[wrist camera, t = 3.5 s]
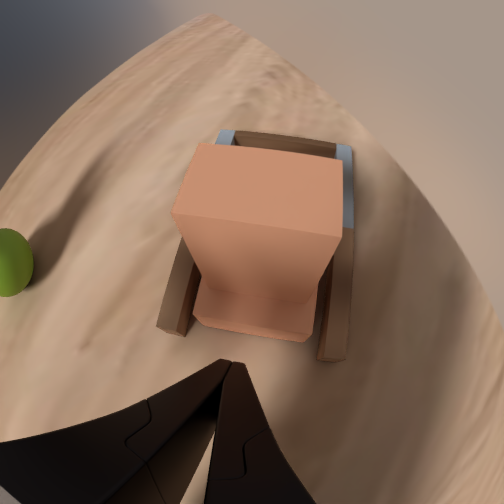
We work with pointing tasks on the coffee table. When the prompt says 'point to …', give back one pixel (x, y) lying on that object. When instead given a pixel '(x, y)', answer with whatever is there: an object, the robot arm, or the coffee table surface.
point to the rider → (260, 235)
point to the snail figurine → (14, 262)
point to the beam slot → (338, 269)
